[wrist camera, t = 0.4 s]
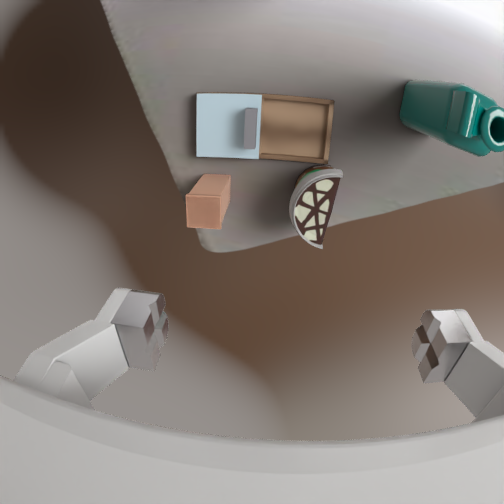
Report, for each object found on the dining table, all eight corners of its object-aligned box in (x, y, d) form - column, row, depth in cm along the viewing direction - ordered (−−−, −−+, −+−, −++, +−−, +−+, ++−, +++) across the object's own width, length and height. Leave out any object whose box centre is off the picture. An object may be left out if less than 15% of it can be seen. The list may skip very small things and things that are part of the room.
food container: (295, 148, 49) (300, 163, 41) (332, 157, 49) (344, 173, 41) (280, 217, 55) (281, 244, 47) (315, 223, 56) (321, 252, 47)
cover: (197, 93, 44) (192, 94, 41) (261, 94, 44) (260, 95, 41) (197, 155, 49) (192, 160, 46) (258, 158, 49) (257, 163, 46)
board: (198, 92, 45) (196, 92, 44) (332, 100, 45) (334, 100, 43) (198, 153, 51) (196, 155, 49) (326, 162, 50) (327, 164, 49)
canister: (202, 173, 52) (185, 195, 43) (231, 174, 52) (220, 196, 43) (203, 199, 55) (187, 227, 45) (230, 201, 55) (220, 229, 45)
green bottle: (447, 92, 41) (530, 110, 22) (437, 137, 45) (514, 175, 26) (398, 73, 41) (471, 75, 22) (389, 121, 45) (455, 150, 26)
